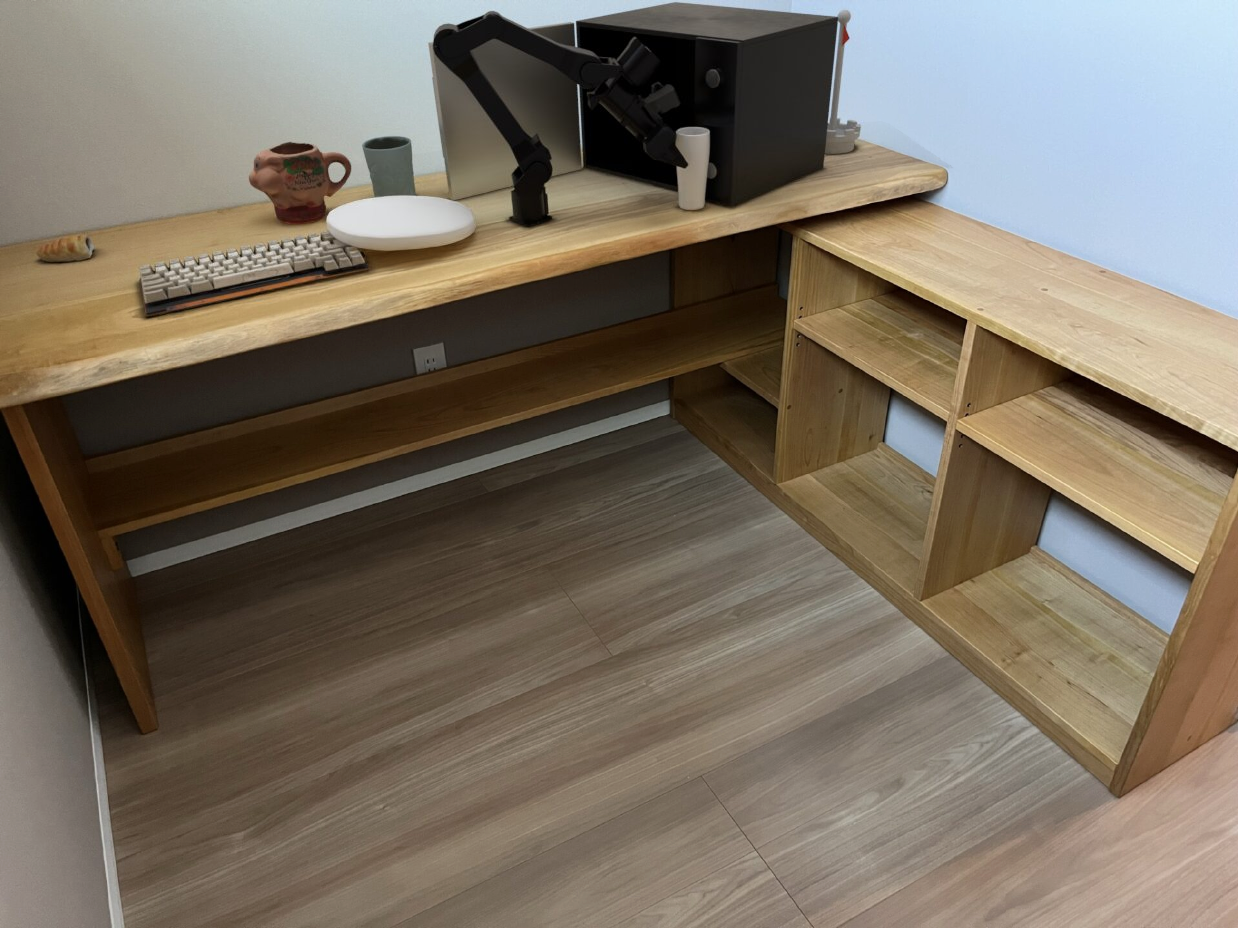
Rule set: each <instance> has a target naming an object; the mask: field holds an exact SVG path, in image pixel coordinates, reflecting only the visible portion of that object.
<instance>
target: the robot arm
mask: <svg viewBox="0 0 1238 928" xmlns="http://www.w3.org/2000/svg"><path fill="white" fill-rule="evenodd" d="M528 28H529V27H526V26H523V25H522V24H520V23H518V22H515V21H514V20H511V19H509V18H507V17H506V16H503V15H502V14H500V12H498V11H495V10H489V11H487V12H485V14H484V13H483V14H482V15H480V16H477V17H474V18H471V19H468V20H465V21H462V22H460V23H458V24H453V23H449V22H448V23H443V24H441V25H439V26H438V27H437V28H436V29H435V31H434V34H433V41H432V42H433V49H434V53H435V55H436V56H437V58H438V59H439V60H440V61H441V62H442V63H443V64H444V65H445V66H446V67H447V68H448V69H449V70H450V71H451V72H452V73H454V74H455V75H456V76H457V77H458V78H459V79H461V80H462V81H463V82H464V83H465V84H466V86H467V87H468V89H469V90H470V91H471V93H472V94H473V96H474V97H475V98H476V100H477V101H478V102H479V104H480V105H481V107H482V108H483V109H484V111H485V112H486V114H487V115H488V116H489V118H490V119H491V121H492V122H493V123H494V125H495V126H496V128H497V129H498V130H499V132H500V133H501V134H502V136H503V137H504V139H505V140H506V141H507V143H508V144H509V146H510V148H511V150H512V152H513V154H514V156H515V159H516V161H517V163H518V165H519V166H518V167H517V168H516V169H515V170H514V171H513V173H512V174H511V176H512V181H513V186H512V187H513V189H512V190H510V196H511V206H512V215H511V216H509V217H508V220H509V221H510V222H514V223H516V224H519V225H522V226H524V227H525V228H529V227H532V226H535V225H539V224H542V223H545V222H549V221H552V220H553V216H552V215H549V213H550V212H549V211H550V209H549V197H548V193H547V192H546V191H547V190H546V186H545V184H546V183H548V182H549V181H550V180H551V178H552V177H553V176H552V171H553V168H552V165H551V162H550V160H551V159H552V158H551V155H550V152H549V149H548V148H546V147H545V146H544V145H543V144H542V142H541V140H540V138H539V136H538V134H537V133H536V134H535V135H534V136H533V137H532V138H531V137H530V136H529V135H528V134H527V133H526V132H525V131H524V130H523V129H522V128H521V126H520V125H519V123H518V122H517V120H516V119H515V118H514V116H513V115H512V113H511V112H510V111H509V109H508V108H507V106H506V105H505V103H504V102H503V101H502V99H501V98H500V96H499V95H498V93H497V92H496V91H495V89H494V88H493V86H492V85H491V83H490V82H489V81H488V79H487V78H486V76H485V75H484V73H483V72H482V71H481V69H480V68H479V66H478V63H477V61H476V59H475V57H474V55H473V52H472V50H473V49H475V48H477V47H479V46H481V45H482V44H484V43H486V42H488V41H490V40H492V39H497V40H499V41H501V42H504V43H506V44H508V45H510V46H512V47H514V48H516V49H518V50H521V51H523V52H525V53H527V54H529V55H531V56H533V57H535V58H538V59H540V60H542V61H544V62H546V63H548V64H550V65H552V66H554V67H555V68H557V69H558V70H559V71H561V72H562V73H563V74H565V75H566V76H567V77H568V78H570V79H571V80H573V81H574V82H575V83H577V86H579V85H580V86H581V87H583V88H585V89H593V88H595V87H597V86H598V85H599V86H598V87H597V88H596V89H595V90H594V91H592V92H587V96H588V105H589V107H590V109H594V108H595V107H596V105H597V104H598V103H600V104H601V105H602V106H603V107H604V108H605V109H607V110H608V111H609V112H610V113H611V114H612V115H613V116H614V117H615V118H616V119H617V120H618V121H619V122H620V124H621V125H622V126H623V127H624V128H625V127H626V128H627V129H628V130H629V131H630V132H631V133H632V134H633V135H634V136H635V138H636V139H637V140H638V141H639V142H641V141H642V142H643V149H644V150H645V152H646V153H647V154H648V155H649V156H650V157H651V158H652V159H653V160H654V159H655V160H659V161H662V162H666V163H669V164H672V165H675V166H678V167H681V168H684V169H685V168H686V167H687V166H688V163H687V161H686V160H685V158H684V157H683V155H682V154H681V152H680V151H679V149H678V148H677V146H676V144H675V143H676V133H675V132H674V131H673V130H672V129H671V128H670V127H669V126H668V125H667V124H666V123H663V118H662V117H661V116H660V115H661V114H663V113H665V112H667V111H668V110H670V109H672V108H676V107H677V106H679V105H680V104H681V102H680V100H679V98H678V96H677V93H676V91H675V89H674V87H673V86H672V85H668V84H666V86H665V87H664V86H663V85H662V84H661V83H659V82H656V83H655V84H653V85H652V94H649V97H647V98H645V99H643V98H642V97H641V96H640V95H639V96H638V95H636V94H635V93H634V92H633V91H632V90H631V89H630V88H629V87H628V86H627V85H626V84H625V83H624V82H623V81H622V80H621V79H620V77H621V75H622V76H623V77H624V78H625V79H626V80H627V81H628V82H629V83H630V84H631V85H632V86H633V87H635V86H636V85H637V86H639V85H641V86H643V85H644V84H645V82H646V81H647V80H648V79H649V78H650V76H651V75H652V74H653V73H654V72H655V71H656V69H657V68H658V67H659V66H660V65H661V64H662V62H661V61H660V60H659V59H658V58H657V57H656V56H655V55H654V54H653V53H652V52H651V51H650V50H649V49H648V48H647V47H645V46H644V45H643V44H642V43H641V42H640V41H639V40H638V39H637V38H636V37H633V38H632V40H631V41H630V42H629V44H628V46H627V47H626V49H625V50H624V51H623V52H622V53H621V55H620V56H619V57H618V58H617V60H615V59H614V58H610V57H609V58H606V57H598V56H597V55H596V54H595V53H593V52H592V51H589V50H585V49H581V48H578V47H577V46H575V47H574V46H568V45H563V44H560V43H557V42H555V41H553V40H551V39H549V38H547V37H544V36H542V35H540V34H538V33H536V32H534V31H532V30H530V29H528ZM607 79H609V80H608V81H607V82H605V81H604V80H607ZM551 176H552V177H551Z"/></svg>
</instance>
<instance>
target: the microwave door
mask: <svg viewBox="0 0 1238 928" xmlns="http://www.w3.org/2000/svg"><path fill="white" fill-rule="evenodd" d="M527 28H528V29H530V30H532V31H534V32H536V33H538V34H540V35H542V36H544V37H547V38H549V39H551V40H553V41H555V42H557V43H560V44H563V45H568V46H574V47H576V32H575V31H576V28H575V22H572V21H567V22H561V23H555V24H554V23H553V24H547V25H540V26H534V27H527ZM427 44H428V53H429V59H430V64H431V72H432V77H431V79H432V85H433V86H432V87H433V94H434V101H435V109H436V115H437V123H438V131H439V137H440V145H441V152H442V158H443V160H444V167H445V173H446V174H445V175H446V182H447V189H448V196H449V197H448V198H449V200H452V201H457V200H461V199H465V198H469V197H474V196H477V195H482V194H486V193H491V192H494V191H498V190H503V189H507V188H510V187H514V186H513V181H512V176H511V174H512V173H513V171H514V170H515V169H516V168H517V167H518V166H519V165H518V163H517V161H516V159H515V156H514V154H513V152H512V150H511V148H510V146H509V144H508V143H507V141H506V140H505V139H504V137H503V136H502V134H501V133H500V132H499V130H498V129H497V128H496V126H495V125H494V123H493V122H492V121H491V119H490V118H489V116H488V115H487V114H486V112H485V111H484V109H483V108H482V107H481V105H480V104H479V102H478V101H477V100H476V98H475V97H474V96H473V94H472V93H471V91H470V90H469V89H468V87H467V86H466V84H465V83H464V82H463V81H462V80H461V79H459V78H458V77H457V76H456V75H455V74H454V73H452V72H451V71H450V70H449V69H448V68H447V67H446V66H445V65H444V64H443V63H442V62H441V61H440V60H439V59H438V58H437V56H436V55H435V53H434V49H433V41H429V42H427ZM472 52H473V55H474V57H475V59H476V61H477V63H478V66H479V68H480V69H481V71H482V72H483V73H484V75H485V76H486V78H487V79H488V81H489V82H490V83H491V85H492V86H493V88H494V89H495V91H496V92H497V93H498V95H499V96H500V98H501V99H502V101H503V102H504V103H505V105H506V106H507V108H508V109H509V111H510V112H511V113H512V115H513V116H514V118H515V119H516V120H517V122H518V123H519V125H520V126H521V128H522V129H523V130H524V131H525V132H526V133H527V134H528V135H529V136H530V137H531V138H532V137H533V136H534V135H535V134H536V133H537V134H538V136H539V138H540V140H541V142H542V144H543V145H544V146H545V147H546V148H548V149H549V152H550V155H551V158H552V159H551V160H550V162H551V165H552V168H553V171H552V176H551V178H552V177H556V176H560V175H564V174H567V173H572V172H576V171H580V170H583V162H582V143H581V124H580V104H579V85H578V84H577V83H575V82H574V81H573V80H571V79H570V78H568V77H567V76H566V75H565V74H563V73H562V72H561V71H559V70H558V69H557V68H555V67H554V66H552V65H550V64H548V63H546V62H544V61H542V60H540V59H538V58H535V57H533V56H531V55H529V54H527V53H525V52H523V51H521V50H518V49H516V48H514V47H512V46H510V45H508V44H506V43H504V42H501V41H499V40H497V39H492V40H490V41H488V42H486V43H484V44H482V45H481V46H479V47H477V48H475V49H473V50H472Z"/></svg>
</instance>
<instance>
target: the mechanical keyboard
mask: <svg viewBox="0 0 1238 928" xmlns="http://www.w3.org/2000/svg"><path fill="white" fill-rule="evenodd" d="M239 248H240V250H239V251H238V250H237V248H236V247H232V248H226V249H225V253H224V252H223V251H222V249H221V250H217V251H216V250H215V251H212V252H211V256H210V255H209V253H208V252H205V253H200V254H197V259H196V257H194V255H190V256H184V257H183V263H182V261H181V260H180V259H179V258H174V259H169V260H168V265H167V263H166V261H164V260H163V261H158V262H154V268H153V267H152V265H151V264H150V263H146V264H141V265H139V267H138V268H139V275H140V278H139V287H140V292H141V297H142V302H143V307H144V314H145V318H151V317H155V316H160V315H164V314H168V313H174V312H175V313H176V312H178V311H179V312H181V311H184V310H187V309H193V308H196V307H201V306H206V305H211V304H215V303H220V302H224V301H230V300H233V299H238V298H242V297H246V296H251V295H257V294H261V293H265V292H270V291H273V290H278V289H282V288H287V287H291V286H295V285H300V284H303V283H309V282H313V281H317V280H323V279H328V278H329V279H330V278H333V277H338V276H339V277H340V276H343V275H348V274H352V273H353V274H354V273H358V272H362V271H370V266H369V265H368V263H367V261H366V260H365V258H366V257H367V255H366V254H365V252H364V251H363V250H359V249H358V247H354V246H351V245H348V244H346V243H343V242H341V241H340V240H338V239H336V238H335V237H334V236H333V235H332V234H331V233H330V232H329V230H328V229H327V230H324V231H323V230H322V231H320V234H318V233H317V232H313V233H307V237H305V236H304V234H301V235H295V236H294V239H292V238H291V237H286V238H285V237H284V238H281V239H280V241H278V240H277V239H274V240H268V241H267V246H266V245H265V243H264V242H258V243H254V244H253V248H252V247H251V245H250V244H247V245H241V246H240V247H239ZM211 257H212V258H211Z"/></svg>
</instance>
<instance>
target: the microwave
mask: <svg viewBox="0 0 1238 928" xmlns="http://www.w3.org/2000/svg"><path fill="white" fill-rule="evenodd" d="M838 24H839V21H838V16H833V15H823V14H822V15H821V14H810V13H801V12H789V11H788V12H787V11H779V10H766V9H756V8H744V7H733V6H723V5H713V4H711V5H710V4H701V3H690V2H678V1H674V2H667V3H663V4H658V5H653V6H648V7H642V8H637V9H632V10H626V11H622V12H621V11H620V12H615V13H610V14H606V15H601V16H600V15H599V16H594V17H590V18H584V19H579V20H576V21H575V31H576V32H575V35H576V47H578V48H581V49H585V50H589V51H592V52H593V53H595V54H596V55H597V56H598V57H606V58H609V57H610V58H614V59H615V60H617V58H618V57H619V56H620V55H621V53H622V52H623V51H624V50H625V49H626V47H627V46H628V44H629V42H630V41H631V40H632V38H633V37H636V38H637V39H638V40H639V41H640V42H641V43H642V44H643V45H644V46H645V47H647V48H648V49H649V50H650V51H651V52H652V53H653V54H654V55H655V56H656V57H657V58H658V59H659V60H660V61H661V62H662V64H661V65H660V66H659V67H658V68H657V69H656V71H655V72H654V73H653V74H652V75H651V76H650V78H649V79H648V80H647V81H646V82H645V84H644V85H643V86H641V85H639V86H637V85H636V86H635V87H633V86H632V85H631V84H630V83H629V82H628V81H627V80H626V79H625V78H624V77H623V76H622V75H621V77H620V79H621V80H622V81H623V82H624V83H625V84H626V85H627V86H628V87H629V88H630V89H631V90H632V91H633V92H634V93H635V94H636V95H638V96H639V95H640V96H641V97H642V98H643V99H645V98H647V97H649V94H652V85H653V84H655V83H656V82H659V83H661V84H662V85H663V86H664V87H665V86H666V84H668V85H672V86H673V87H674V89H675V91H676V93H677V96H678V98H679V100H680V102H681V104H680V105H679V106H677V107H676V108H672V109H670V110H668V111H667V112H665V113H663V114H661V115H660V116H661V117H662V118H663V123H666V124H667V125H668V126H669V127H670V128H671V129H672V130H673V131H674V132H675V133H676V131H677V130H678V129H681V128H686V127H701V128H706V129H708V130H709V131H710V153H709V163H708V172H707V181H706V191H705V202H706V201H707V202H709V203H714V204H718V205H722V206H725V207H729V208H732V207H733V206H735V207H736V206H739V205H741V204H744V203H745V202H749V201H751V200H752V199H755V198H757V197H760V196H762V195H765V194H766V193H769V192H771V191H774V190H776V189H779V188H781V187H784V186H786V185H788V184H790V183H792V182H795V181H797V180H799V179H801V178H804V177H806V176H809V175H811V174H814V173H815V172H816V173H817V172H818V171H820V170H823V169H824V166H825V155H826V154H825V147H826V137H827V127H828V123H829V118H830V117H829V116H830V105H831V97H832V87H833V74H834V64H835V54H836V46H837V45H836V44H837V37H838V27H839V26H838ZM608 80H609V79H607V80H604V81H605V82H607V81H608ZM598 86H599V85H598ZM598 86H597V87H598ZM597 87H595V88H593V89H585V88H583V87H581V86H580V85H578V94H579V114H580V133H581V153H582V169H587V170H591V171H595V172H598V173H603V174H608V175H611V176H615V177H620V178H624V179H627V180H632V181H635V182H639V183H643V184H648V185H652V186H655V187H658V188H663V189H665V190H670V191H674V192H678V180H677V167H676V166H675V165H672V164H669V163H666V162H662V161H659V160H655V159H654V160H653V159H652V158H651V157H650V156H649V155H648V154H647V153H646V152H645V150H644V149H643V142H642V141H641V142H639V141H638V140H637V139H636V138H635V136H634V135H633V134H632V133H631V132H630V131H629V130H628V129H627V128H626V127H625V128H624V127H623V126H622V125H621V124H620V122H619V121H618V120H617V119H616V118H615V117H614V116H613V115H612V114H611V113H610V112H609V111H608V110H607V109H605V108H604V107H603V106H602V105H601V104H600V103H598V104H597V105H596V107H595V108H594V109H590V107H589V105H588V96H587V92H592V91H594V90H595V89H596V88H597Z"/></svg>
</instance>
